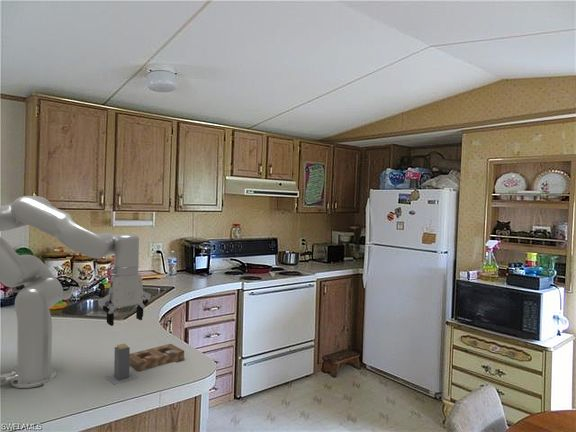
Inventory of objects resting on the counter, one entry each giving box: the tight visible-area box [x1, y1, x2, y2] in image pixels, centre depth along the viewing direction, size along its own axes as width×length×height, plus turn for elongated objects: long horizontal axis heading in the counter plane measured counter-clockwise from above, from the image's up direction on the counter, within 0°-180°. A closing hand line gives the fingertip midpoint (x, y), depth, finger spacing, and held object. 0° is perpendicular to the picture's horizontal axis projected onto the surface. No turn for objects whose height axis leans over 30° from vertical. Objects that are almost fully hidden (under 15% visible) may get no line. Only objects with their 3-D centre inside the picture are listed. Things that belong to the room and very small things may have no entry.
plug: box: [113, 343, 131, 381], centre depth 133 cm, size 4×4×11 cm
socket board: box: [129, 343, 185, 372], centre depth 148 cm, size 18×10×4 cm, turn 135°
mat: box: [104, 370, 139, 386], centre depth 133 cm, size 8×8×1 cm
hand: (125, 322), depth 134 cm, fingers open, 9 cm apart
